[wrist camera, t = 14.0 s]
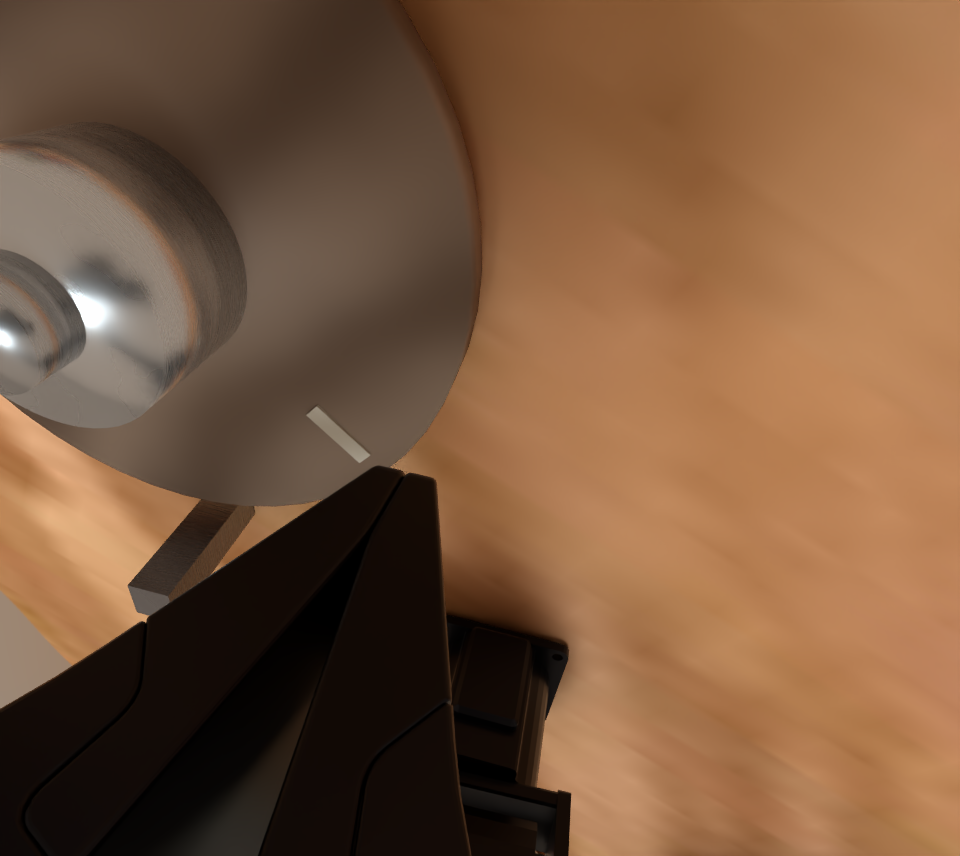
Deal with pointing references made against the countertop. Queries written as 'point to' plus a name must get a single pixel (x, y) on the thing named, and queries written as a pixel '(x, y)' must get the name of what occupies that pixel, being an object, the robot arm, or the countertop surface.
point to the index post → (189, 554)
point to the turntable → (280, 224)
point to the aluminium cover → (108, 274)
